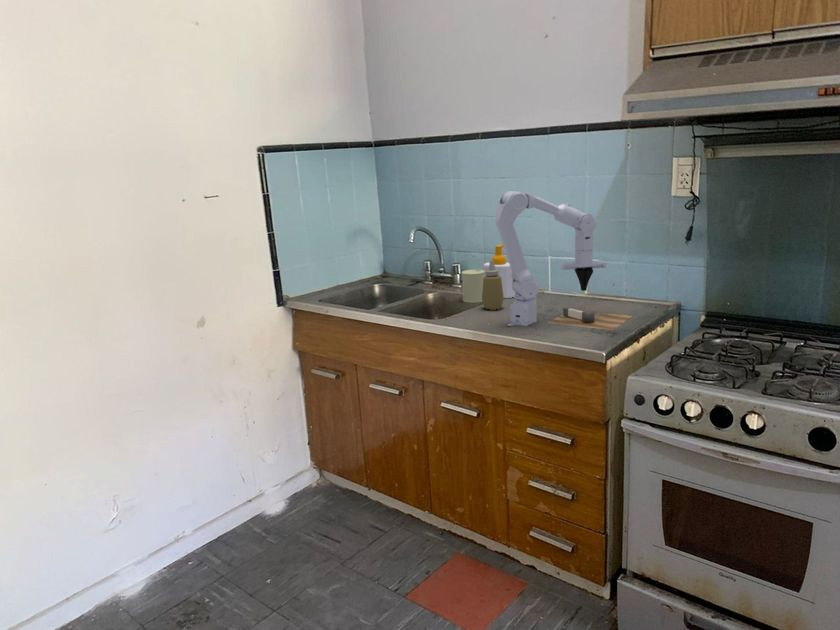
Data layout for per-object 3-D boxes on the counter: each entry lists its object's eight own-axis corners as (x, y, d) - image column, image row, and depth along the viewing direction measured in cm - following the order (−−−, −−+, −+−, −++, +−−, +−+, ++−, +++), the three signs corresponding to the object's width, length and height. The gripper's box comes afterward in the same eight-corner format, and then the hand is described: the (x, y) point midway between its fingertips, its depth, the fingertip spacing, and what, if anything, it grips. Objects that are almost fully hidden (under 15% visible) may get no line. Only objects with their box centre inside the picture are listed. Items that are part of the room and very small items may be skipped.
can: (490, 299, 249) (489, 269, 246) (476, 304, 242) (475, 273, 239) (472, 296, 255) (471, 267, 252) (457, 301, 248) (456, 271, 245)
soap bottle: (519, 295, 252) (518, 245, 247) (510, 299, 246) (509, 248, 241) (489, 293, 260) (488, 244, 255) (480, 297, 253) (478, 247, 248)
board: (613, 333, 194) (613, 329, 193) (547, 325, 206) (547, 322, 206) (632, 318, 208) (632, 315, 208) (569, 312, 221) (569, 309, 221)
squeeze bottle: (508, 309, 231) (506, 260, 227) (488, 312, 228) (487, 263, 224) (497, 305, 238) (496, 258, 234) (478, 307, 236) (476, 260, 231)
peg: (597, 321, 204) (597, 312, 203) (588, 323, 202) (588, 314, 201) (569, 314, 214) (569, 305, 214) (560, 316, 213) (560, 307, 212)
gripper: (602, 247, 211) (601, 286, 215) (559, 249, 211) (559, 288, 215) (608, 250, 204) (607, 290, 208) (563, 252, 205) (563, 293, 208)
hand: (583, 290), depth 211 cm, fingers closed
